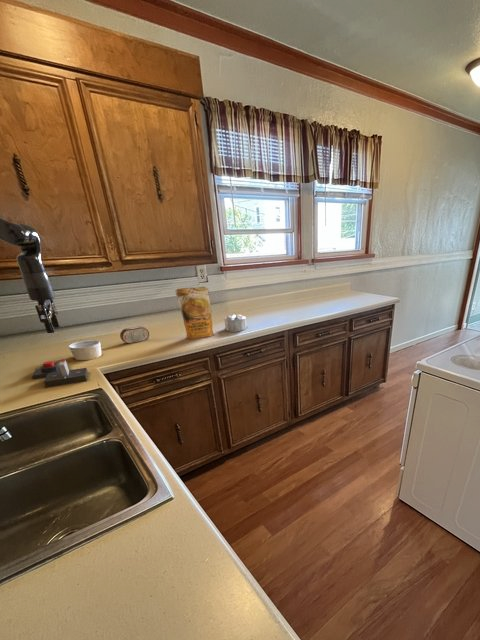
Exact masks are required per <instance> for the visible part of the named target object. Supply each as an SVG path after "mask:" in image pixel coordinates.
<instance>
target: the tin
mask: <svg viewBox="0 0 480 640" xmlns="http://www.w3.org/2000/svg"><path fill="white" fill-rule="evenodd" d="M119 336H120V340H121V341H122V342H123V343H125V344H133V343H138V342H143V341H147V340H148V339H149V338H150V331H149V330H148V328H146V327H145V326H142V325H138V326H132V327H126V328H123V329H122V330H121V332H120V334H119Z"/></svg>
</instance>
